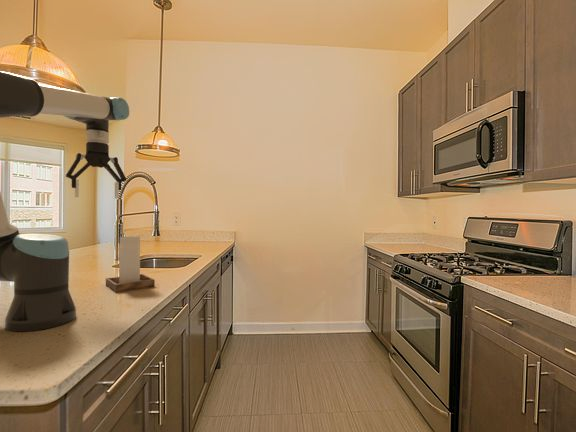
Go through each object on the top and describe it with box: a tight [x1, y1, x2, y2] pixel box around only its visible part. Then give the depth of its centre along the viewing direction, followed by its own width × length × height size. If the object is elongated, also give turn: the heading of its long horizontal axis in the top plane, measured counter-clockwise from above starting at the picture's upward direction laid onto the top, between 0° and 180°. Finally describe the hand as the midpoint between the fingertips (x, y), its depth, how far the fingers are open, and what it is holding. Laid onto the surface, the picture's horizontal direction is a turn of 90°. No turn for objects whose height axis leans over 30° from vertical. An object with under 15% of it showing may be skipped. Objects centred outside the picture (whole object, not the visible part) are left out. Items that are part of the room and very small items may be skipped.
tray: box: [105, 273, 156, 293], centre depth 126 cm, size 14×14×3 cm
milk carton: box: [118, 236, 141, 284], centre depth 126 cm, size 7×7×19 cm
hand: (97, 197), depth 124 cm, fingers open, 13 cm apart
